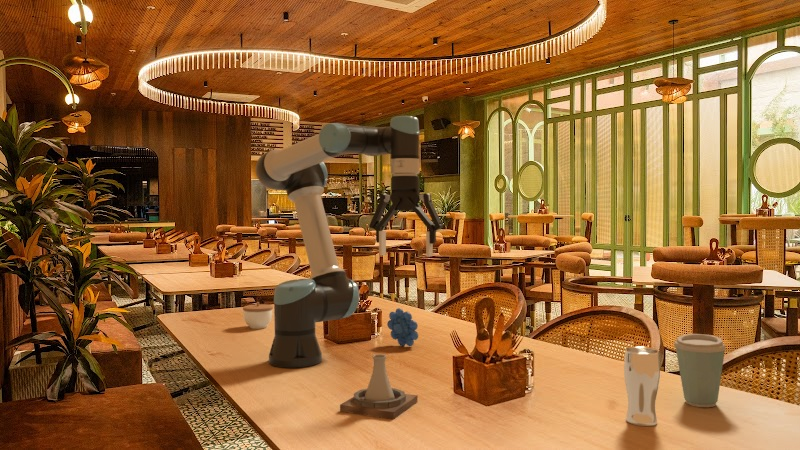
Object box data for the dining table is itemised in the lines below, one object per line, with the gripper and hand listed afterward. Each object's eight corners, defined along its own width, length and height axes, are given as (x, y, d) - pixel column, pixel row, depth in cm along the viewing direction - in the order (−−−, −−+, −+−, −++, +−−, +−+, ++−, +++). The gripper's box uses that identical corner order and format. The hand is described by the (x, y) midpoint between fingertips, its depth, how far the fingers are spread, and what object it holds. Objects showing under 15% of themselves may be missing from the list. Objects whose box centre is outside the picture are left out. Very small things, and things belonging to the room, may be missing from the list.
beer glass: (618, 416, 138) (618, 346, 138) (649, 415, 139) (650, 345, 138) (632, 427, 131) (633, 354, 131) (665, 426, 132) (666, 353, 131)
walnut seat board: (340, 411, 143) (340, 399, 143) (367, 395, 155) (367, 384, 155) (393, 419, 138) (393, 406, 137) (417, 401, 149) (417, 390, 149)
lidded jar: (279, 326, 242) (278, 301, 242) (258, 331, 233) (257, 305, 233) (258, 323, 248) (257, 299, 248) (237, 328, 239) (236, 302, 239)
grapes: (380, 346, 207) (379, 308, 207) (392, 342, 213) (391, 306, 213) (410, 350, 201) (410, 312, 200) (422, 346, 206) (422, 309, 206)
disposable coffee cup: (722, 413, 140) (723, 344, 139) (669, 405, 145) (669, 339, 145) (727, 400, 149) (728, 335, 148) (677, 393, 154) (677, 331, 154)
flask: (392, 405, 142) (391, 360, 142) (359, 403, 143) (359, 359, 143) (398, 396, 149) (398, 352, 149) (368, 394, 150) (367, 351, 150)
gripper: (356, 176, 173) (357, 255, 174) (444, 173, 163) (444, 258, 164) (369, 176, 180) (370, 253, 181) (454, 174, 170) (454, 255, 171)
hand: (405, 255), depth 172 cm, fingers open, 13 cm apart
